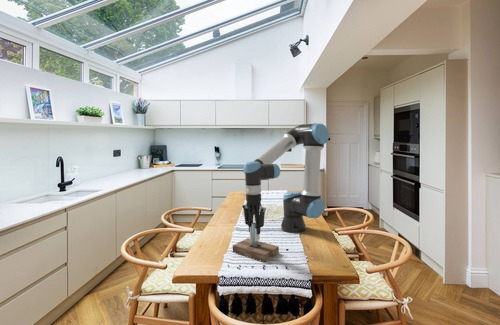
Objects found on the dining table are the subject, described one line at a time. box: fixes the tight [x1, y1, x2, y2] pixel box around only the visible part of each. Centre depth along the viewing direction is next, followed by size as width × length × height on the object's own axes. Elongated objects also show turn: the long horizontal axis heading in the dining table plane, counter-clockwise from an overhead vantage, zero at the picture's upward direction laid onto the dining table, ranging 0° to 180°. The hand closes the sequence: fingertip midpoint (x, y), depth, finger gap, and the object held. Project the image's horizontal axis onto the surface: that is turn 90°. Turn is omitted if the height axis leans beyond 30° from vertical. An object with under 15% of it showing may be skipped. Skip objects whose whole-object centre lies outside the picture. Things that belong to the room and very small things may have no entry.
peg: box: [251, 222, 259, 248], centre depth 138 cm, size 3×3×12 cm
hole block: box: [232, 237, 280, 263], centre depth 139 cm, size 12×20×4 cm, turn 50°
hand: (254, 239), depth 139 cm, fingers closed on peg, 2 cm apart
